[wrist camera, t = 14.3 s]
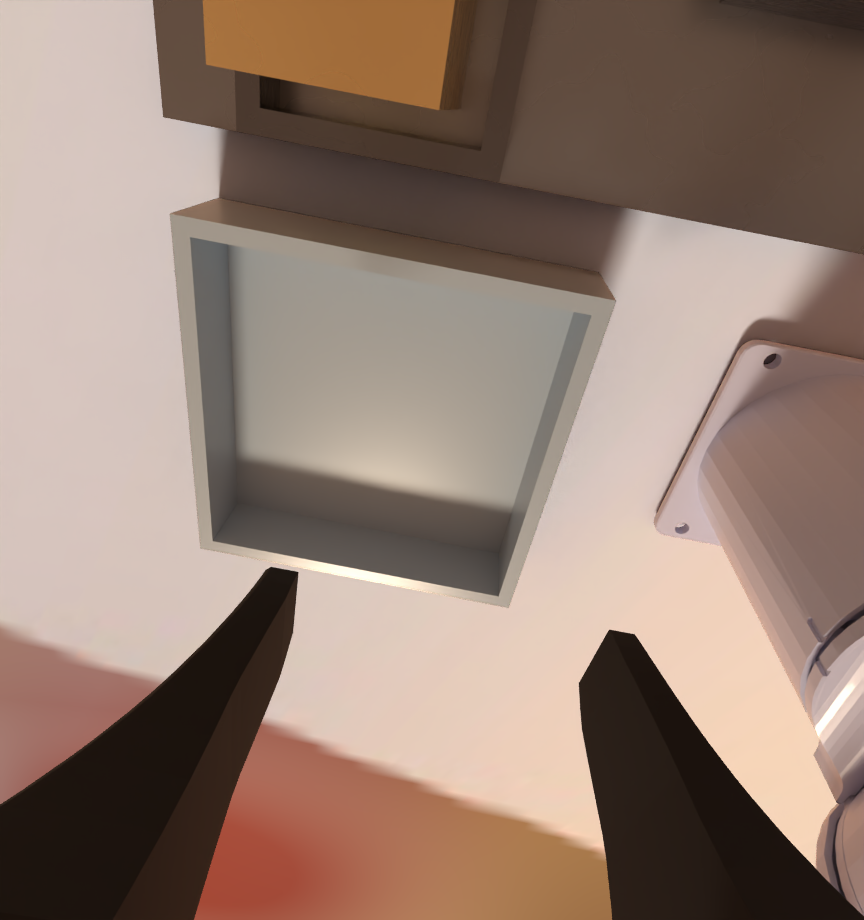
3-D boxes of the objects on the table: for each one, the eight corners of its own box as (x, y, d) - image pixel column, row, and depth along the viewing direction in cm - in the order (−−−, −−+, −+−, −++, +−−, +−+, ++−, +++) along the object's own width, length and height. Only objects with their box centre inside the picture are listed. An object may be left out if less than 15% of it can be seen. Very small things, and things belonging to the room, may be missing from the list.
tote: (598, 272, 17) (616, 300, 15) (507, 554, 24) (508, 608, 21) (218, 197, 17) (169, 213, 15) (232, 501, 24) (200, 548, 21)
